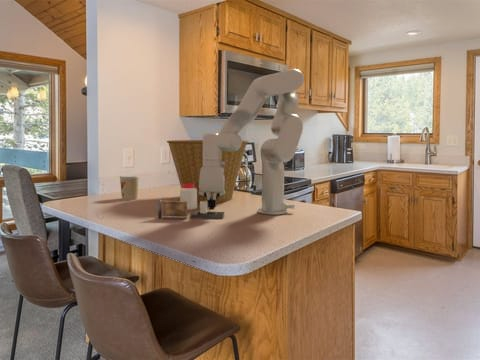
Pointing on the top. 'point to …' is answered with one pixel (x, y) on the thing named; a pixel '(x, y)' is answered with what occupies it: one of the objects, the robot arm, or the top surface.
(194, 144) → the basket
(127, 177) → the coffee cup
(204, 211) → the fader cap
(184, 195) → the pill bottle
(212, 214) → the board
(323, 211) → the top surface
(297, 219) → the top surface
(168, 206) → the door
